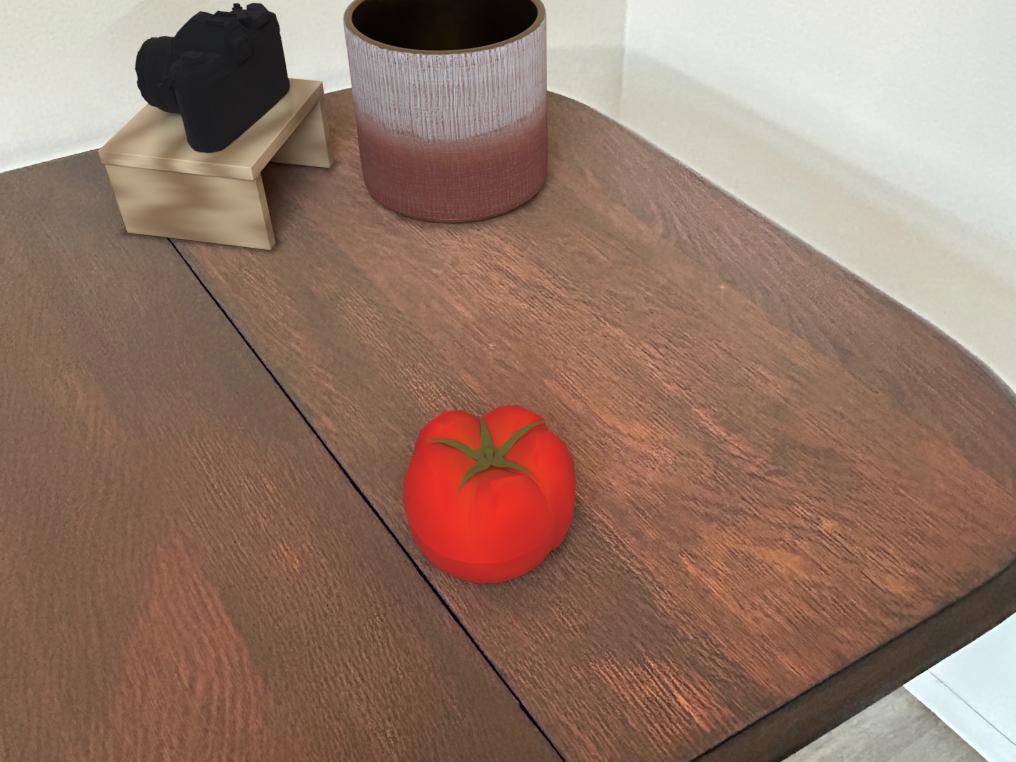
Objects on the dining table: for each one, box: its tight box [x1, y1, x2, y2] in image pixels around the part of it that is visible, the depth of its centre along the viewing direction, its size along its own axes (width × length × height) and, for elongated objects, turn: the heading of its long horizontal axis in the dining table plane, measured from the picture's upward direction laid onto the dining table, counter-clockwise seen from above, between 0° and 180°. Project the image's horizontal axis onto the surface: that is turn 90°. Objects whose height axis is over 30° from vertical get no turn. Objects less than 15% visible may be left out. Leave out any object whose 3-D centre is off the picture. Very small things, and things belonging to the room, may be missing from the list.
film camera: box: [134, 2, 290, 153], centre depth 88 cm, size 15×10×9 cm, turn 161°
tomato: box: [402, 404, 577, 584], centre depth 64 cm, size 11×12×9 cm
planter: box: [342, 0, 549, 223], centre depth 94 cm, size 18×18×16 cm
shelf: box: [97, 77, 335, 251], centre depth 95 cm, size 14×17×8 cm
